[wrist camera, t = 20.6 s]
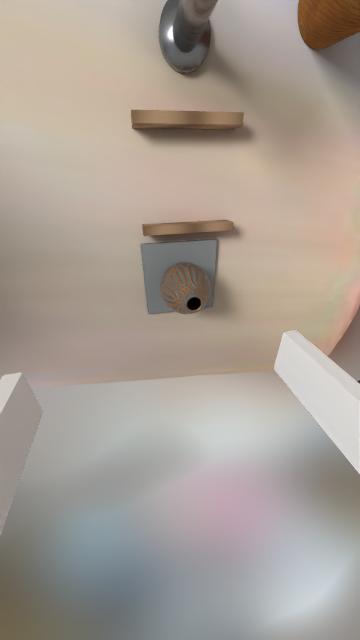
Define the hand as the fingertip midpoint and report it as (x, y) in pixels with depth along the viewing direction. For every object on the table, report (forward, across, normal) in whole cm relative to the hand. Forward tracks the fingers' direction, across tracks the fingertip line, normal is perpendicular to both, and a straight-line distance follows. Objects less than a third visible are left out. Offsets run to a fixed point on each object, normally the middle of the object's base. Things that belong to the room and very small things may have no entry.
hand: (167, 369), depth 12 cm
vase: (+24, +6, -4) cm, 25 cm away
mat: (+24, +6, -4) cm, 25 cm away
